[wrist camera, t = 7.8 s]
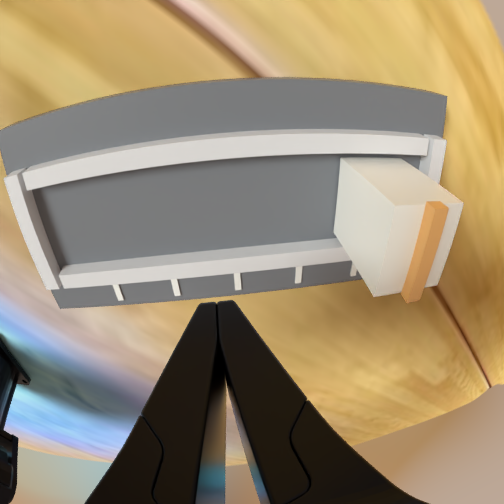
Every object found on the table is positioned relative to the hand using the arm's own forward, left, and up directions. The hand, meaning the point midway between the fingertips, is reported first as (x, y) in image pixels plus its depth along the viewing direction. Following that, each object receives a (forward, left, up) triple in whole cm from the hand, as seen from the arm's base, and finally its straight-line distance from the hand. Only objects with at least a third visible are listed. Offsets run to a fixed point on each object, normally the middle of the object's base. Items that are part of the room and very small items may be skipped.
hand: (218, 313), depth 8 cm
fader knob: (0, -7, -6) cm, 9 cm away
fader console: (0, -1, -8) cm, 8 cm away
